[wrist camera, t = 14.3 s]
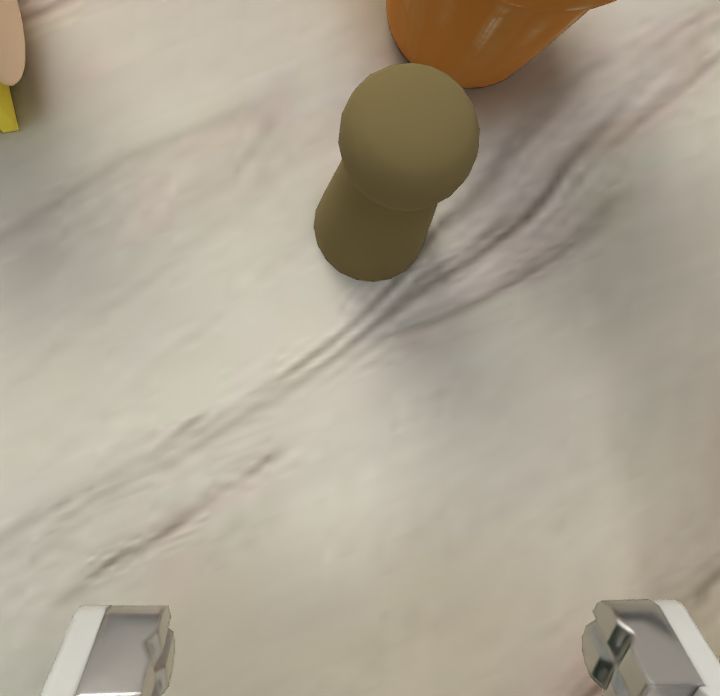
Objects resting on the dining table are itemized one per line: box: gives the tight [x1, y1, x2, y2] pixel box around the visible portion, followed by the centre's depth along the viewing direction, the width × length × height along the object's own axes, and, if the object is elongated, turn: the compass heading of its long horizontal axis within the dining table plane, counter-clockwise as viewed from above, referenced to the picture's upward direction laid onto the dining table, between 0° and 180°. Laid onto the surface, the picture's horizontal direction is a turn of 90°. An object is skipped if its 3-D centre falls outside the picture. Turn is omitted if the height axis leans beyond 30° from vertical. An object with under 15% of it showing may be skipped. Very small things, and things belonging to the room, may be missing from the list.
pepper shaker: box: [314, 63, 480, 282], centre depth 24 cm, size 6×6×11 cm
